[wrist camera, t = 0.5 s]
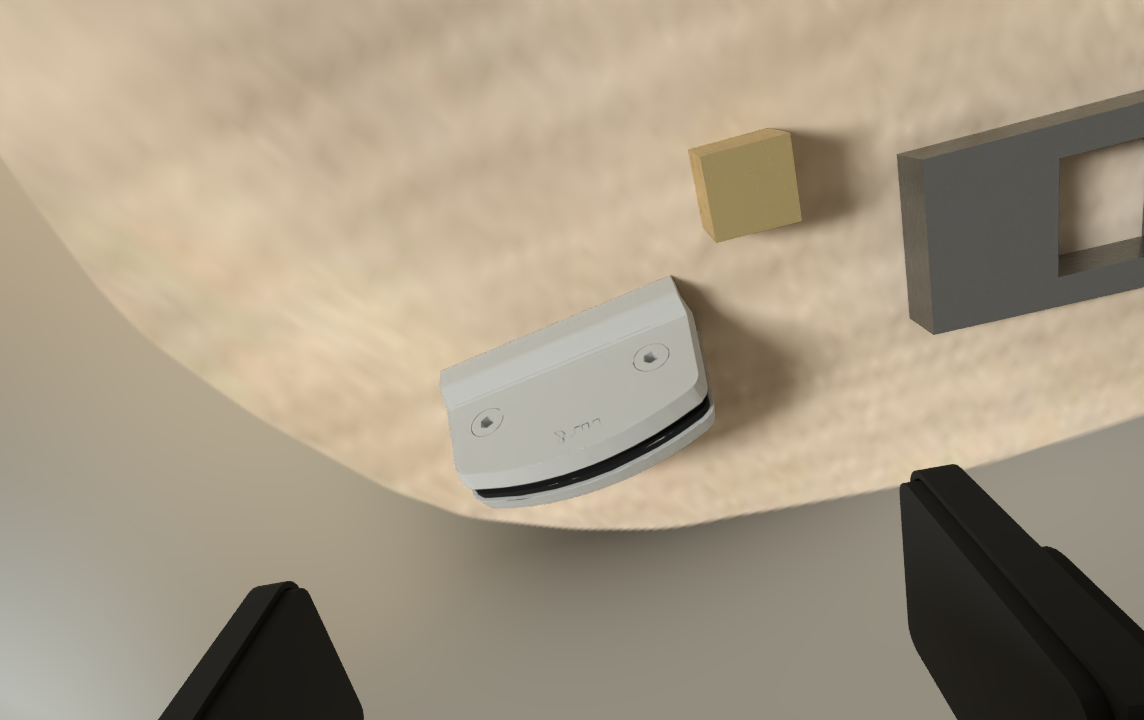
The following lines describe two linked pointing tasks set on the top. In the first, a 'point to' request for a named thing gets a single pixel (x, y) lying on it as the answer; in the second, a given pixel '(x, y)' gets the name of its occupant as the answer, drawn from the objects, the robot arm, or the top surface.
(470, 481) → the hinge
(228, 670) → the robot arm
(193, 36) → the top surface
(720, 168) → the brass cube
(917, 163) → the grey square hole block
